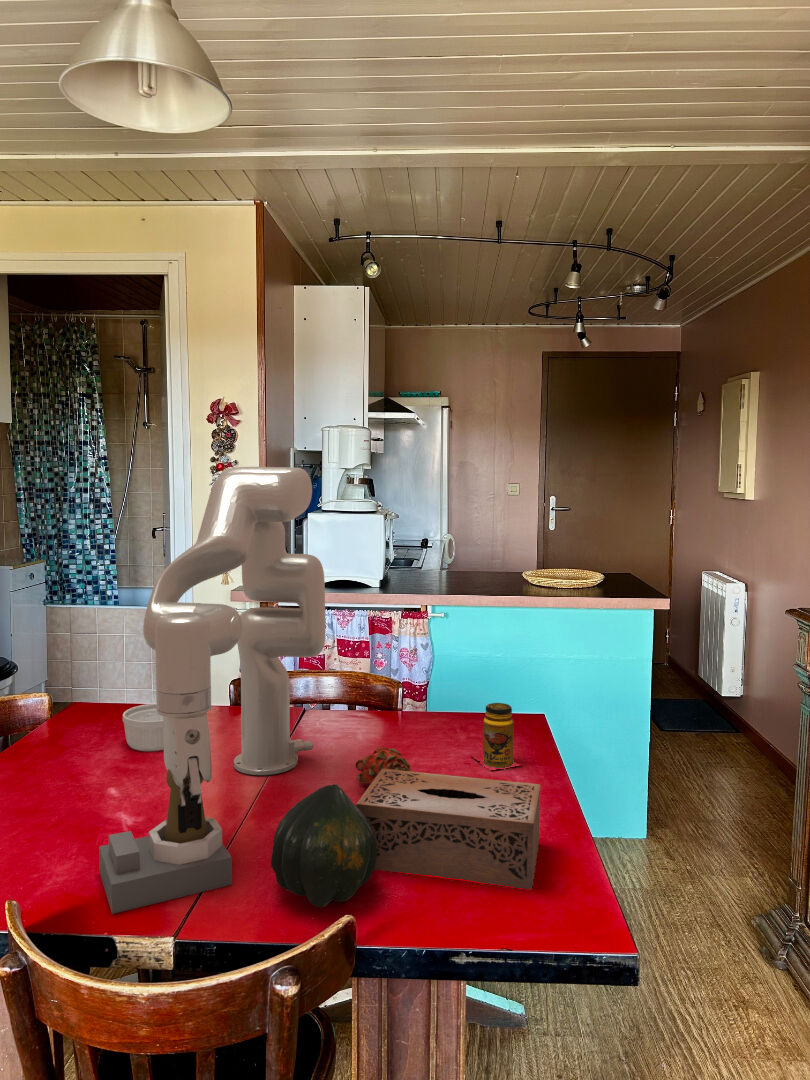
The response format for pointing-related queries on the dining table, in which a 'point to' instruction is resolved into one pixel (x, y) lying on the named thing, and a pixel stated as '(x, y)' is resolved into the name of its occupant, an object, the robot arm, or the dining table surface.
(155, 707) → the ramekin
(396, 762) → the dragon fruit
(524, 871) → the tissue box cover
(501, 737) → the condiment
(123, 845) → the mount
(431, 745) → the dining table surface
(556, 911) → the dining table surface
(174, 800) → the brown pawn shaped peg
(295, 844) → the squash
